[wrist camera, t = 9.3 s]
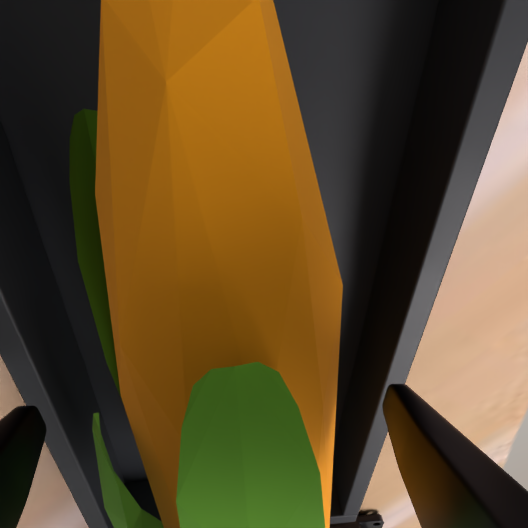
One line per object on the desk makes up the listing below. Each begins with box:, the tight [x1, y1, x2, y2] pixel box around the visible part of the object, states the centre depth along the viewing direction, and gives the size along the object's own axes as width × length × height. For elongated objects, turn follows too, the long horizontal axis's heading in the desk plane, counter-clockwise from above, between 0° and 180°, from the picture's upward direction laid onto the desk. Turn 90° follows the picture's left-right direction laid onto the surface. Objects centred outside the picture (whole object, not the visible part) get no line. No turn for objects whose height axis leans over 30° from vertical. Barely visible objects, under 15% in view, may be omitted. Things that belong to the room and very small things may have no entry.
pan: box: [0, 0, 528, 528], centre depth 12 cm, size 25×13×3 cm, turn 178°
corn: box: [70, 0, 343, 528], centre depth 10 cm, size 7×8×20 cm
